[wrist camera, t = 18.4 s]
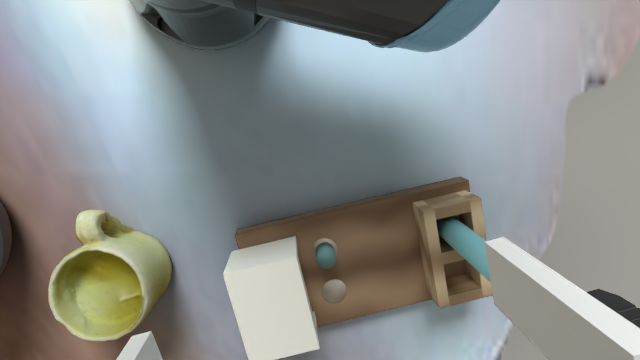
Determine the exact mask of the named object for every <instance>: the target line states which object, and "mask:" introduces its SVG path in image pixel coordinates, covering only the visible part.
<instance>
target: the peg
mask: <svg viewBox="0 0 640 360" xmlns="http://www.w3.org/2000/svg"><path fill="white" fill-rule="evenodd" d="M436 223H437V230H438V234H439V235H440V236H441V237H442V238H443V239H444V240H445V241H446V242H447V243H448V244H449V245H450V246H452V247H453V248H454V249H455V250H456V251H457V252H458V253H459V254H460V255H461V256H462V257H463V258H464V259H466V260H467V261H468V262H469V263H470V264H471V265H472V266H473V267H474V268H475V269H476V270H477V271H478V272H479V273H481V274H482V275H483V276H484V277H485V278H486V279H487V280H488V281H489V282H491V280H490V274H489V268H488V262H487V256H486V249H485V243H484V242H486V240H485V239H483V238H482V237H481V236H479V235H478V234H476V233H475V232H474V231H472V230H471V229H470V228H468V227H467V226H466V225H464V224H463V223H462V222H460V221H459V220H458V219H456V218H455V217H453V216H450V217H446V218H442V219H438V220H436Z"/></svg>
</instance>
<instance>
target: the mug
mask: <svg viewBox="0 0 640 360" xmlns="http://www.w3.org/2000/svg"><path fill="white" fill-rule="evenodd" d="M75 232H76V236H77V239H78V240H79V241H80V242H81V243H82V246H81V247H80V248H78V249H76V250H74V251H73V252H71V253H69V254H68V255H66V256H65V257H64V258H63V259H62V260H61V261H60V262H59V263H58V265H57V266H56V267H55V269H54V271H53V273H52V275H51V277H50V280H49V288H48V300H49V307H50V309H51V311H52V313H53V315H54V317H55V319H56V320H57V321H58V322H60V323H62V324H63V325H64V326H65V327H66V328H67V329H68V330H69V331H70V332H71V333H72V334H73V335H75V336H77V337H79V338H81V339H84V340H90V341H108V340H116V339H119V338H121V337H123V336H125V335H126V334H129V333H131V332H132V331H134V330H135V329H136V328H138V326H139V325H140V324H141V323H142V322H143V320H144V319H145V318H146V317H147V315H148V314H149V313H150V311H151V310H152V308H153V307H154V305H155V304H156V303H157V301H158V300H159V299H160V298H161V297H162V295H163V294H164V293H165V291H166V289H167V287H168V285H169V282H170V279H171V272H172V266H171V260H170V257H169V255H168V252H167V251H166V249H165V248H164V246H163V245H162V244H161V243H160V242H159V241H158V240H156V239H155V238H153V237H152V236H150V235H148V234H145V233H143V232H140V231H136V230H133V229H132V228H130V227H127V226H125V225H123V224H121V222H120V221H119V220H118V219H116V218H115V217H113V216H111V215H110V213H108V212H106V211H104V210H87V211H82V212H81V213H80V214H79V215H78V216H77V219H76V227H75Z"/></svg>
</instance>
